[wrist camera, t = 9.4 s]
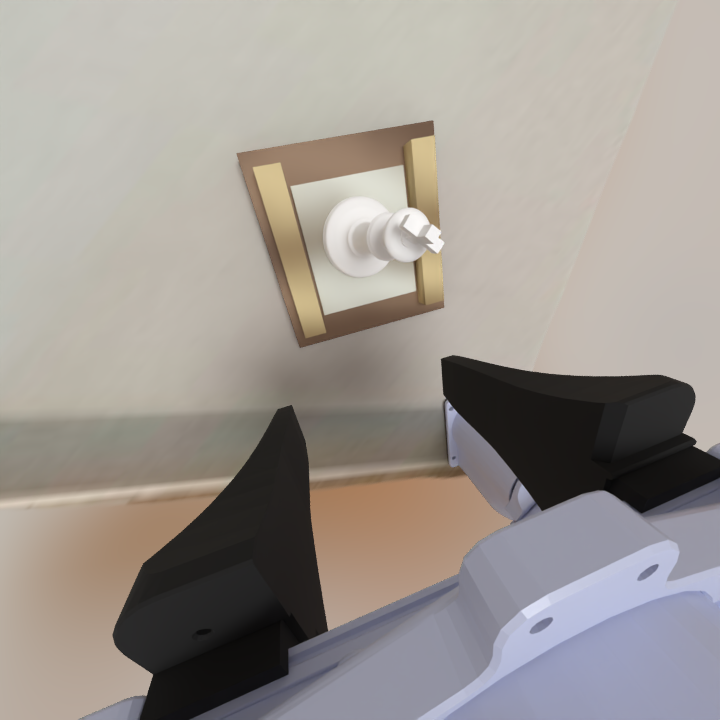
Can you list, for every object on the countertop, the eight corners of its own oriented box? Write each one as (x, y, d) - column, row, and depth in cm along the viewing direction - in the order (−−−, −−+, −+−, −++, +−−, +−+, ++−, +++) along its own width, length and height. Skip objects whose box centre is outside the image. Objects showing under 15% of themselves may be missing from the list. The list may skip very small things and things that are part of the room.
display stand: (436, 304, 23) (452, 310, 21) (299, 342, 21) (300, 353, 19) (424, 127, 17) (443, 111, 15) (239, 159, 16) (232, 146, 14)
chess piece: (370, 290, 19) (442, 330, 10) (309, 252, 17) (333, 260, 8) (407, 226, 18) (523, 209, 9) (346, 178, 16) (420, 97, 7)
